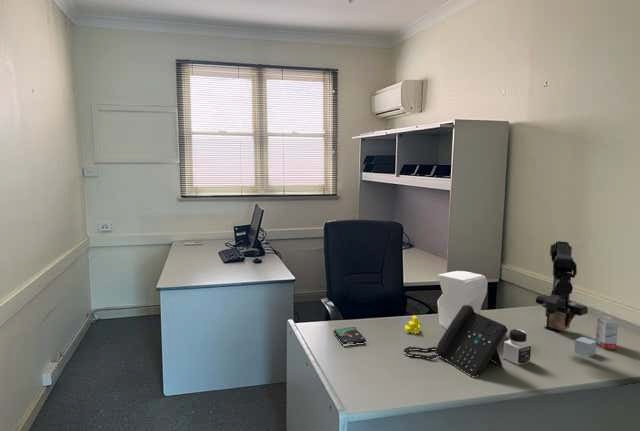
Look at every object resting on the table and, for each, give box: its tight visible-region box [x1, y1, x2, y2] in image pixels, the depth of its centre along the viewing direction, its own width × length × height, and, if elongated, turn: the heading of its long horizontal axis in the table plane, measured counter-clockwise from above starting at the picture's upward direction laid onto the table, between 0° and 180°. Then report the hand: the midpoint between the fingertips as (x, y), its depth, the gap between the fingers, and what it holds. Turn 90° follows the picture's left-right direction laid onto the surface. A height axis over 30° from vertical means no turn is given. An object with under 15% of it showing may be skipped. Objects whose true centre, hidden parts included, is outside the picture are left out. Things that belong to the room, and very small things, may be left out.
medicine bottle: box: [502, 328, 532, 366], centre depth 170 cm, size 7×7×12 cm
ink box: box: [594, 315, 619, 351], centre depth 184 cm, size 9×5×12 cm, turn 168°
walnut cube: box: [549, 311, 571, 332], centre depth 178 cm, size 6×6×6 cm
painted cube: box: [574, 336, 597, 358], centre depth 177 cm, size 6×6×6 cm
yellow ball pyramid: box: [404, 315, 422, 333], centre depth 199 cm, size 6×8×8 cm
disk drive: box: [333, 326, 367, 344], centre depth 191 cm, size 10×3×15 cm
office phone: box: [403, 305, 509, 377], centre depth 170 cm, size 29×28×20 cm
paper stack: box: [435, 270, 489, 329], centre depth 204 cm, size 21×27×26 cm
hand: (559, 324), depth 178 cm, fingers closed on walnut cube, 5 cm apart
